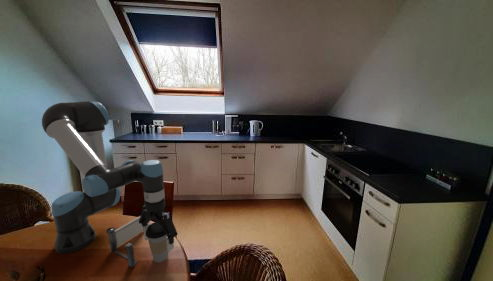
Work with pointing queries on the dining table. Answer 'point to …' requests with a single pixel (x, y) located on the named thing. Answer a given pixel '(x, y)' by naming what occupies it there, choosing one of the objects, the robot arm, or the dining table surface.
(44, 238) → the dining table surface
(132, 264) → the post
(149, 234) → the coffee cup
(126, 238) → the gate
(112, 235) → the hinge post
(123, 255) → the bar
